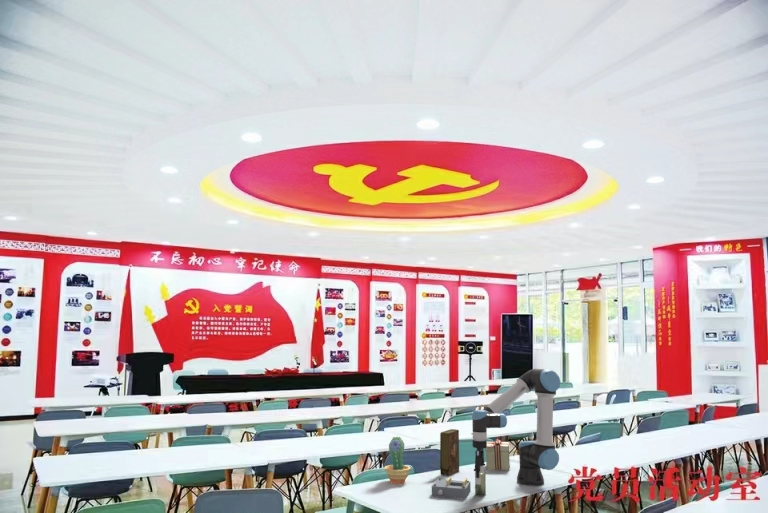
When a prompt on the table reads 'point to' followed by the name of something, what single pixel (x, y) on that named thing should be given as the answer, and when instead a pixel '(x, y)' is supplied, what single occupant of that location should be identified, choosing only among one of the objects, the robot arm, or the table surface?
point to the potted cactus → (397, 462)
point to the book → (449, 452)
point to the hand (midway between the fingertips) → (479, 481)
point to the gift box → (497, 455)
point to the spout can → (481, 486)
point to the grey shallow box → (451, 488)
